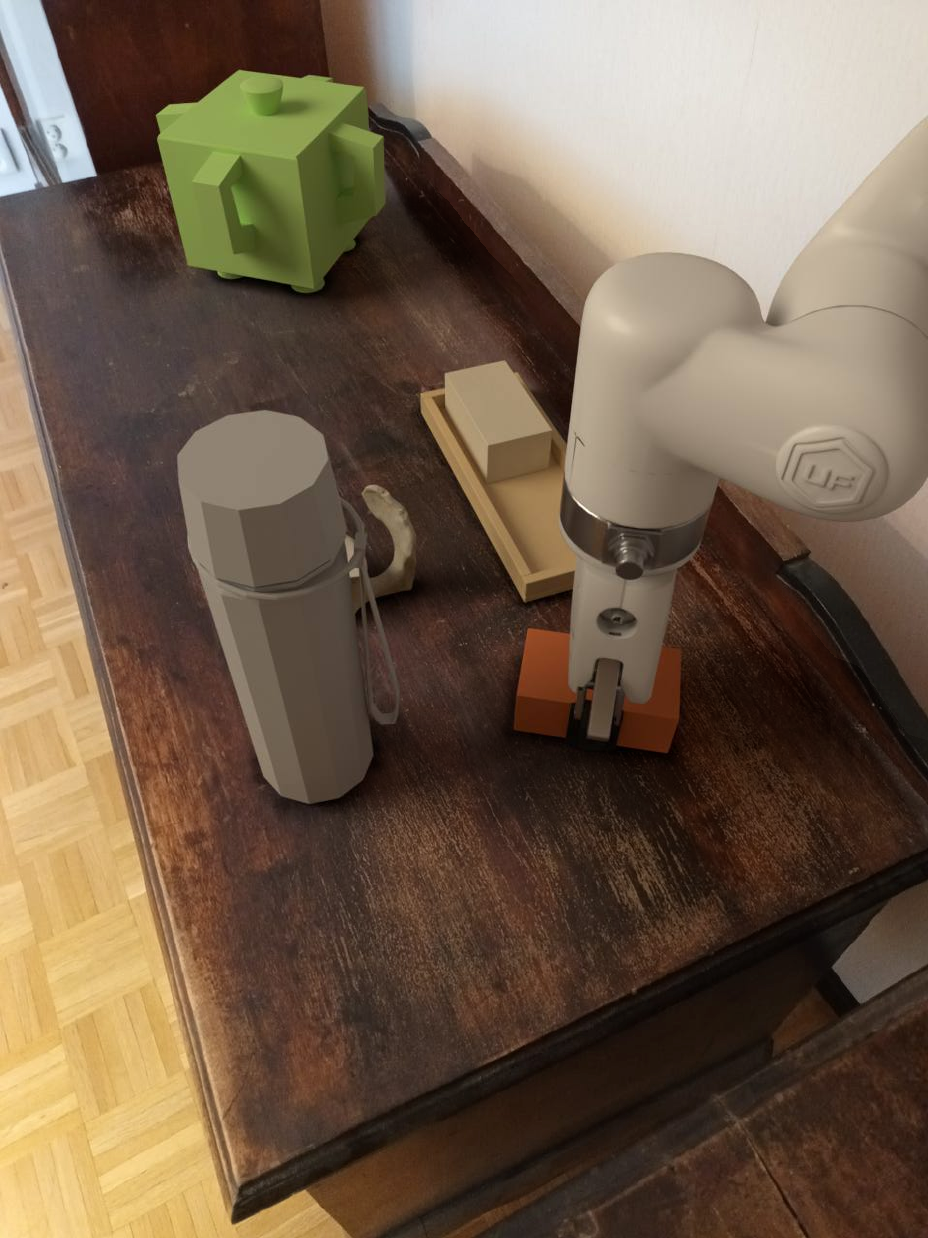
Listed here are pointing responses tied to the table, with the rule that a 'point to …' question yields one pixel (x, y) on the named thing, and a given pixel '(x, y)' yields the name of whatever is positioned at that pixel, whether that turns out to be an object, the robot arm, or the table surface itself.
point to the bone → (404, 542)
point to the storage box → (272, 176)
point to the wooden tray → (513, 507)
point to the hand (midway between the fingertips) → (594, 702)
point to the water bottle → (285, 597)
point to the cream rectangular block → (497, 421)
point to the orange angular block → (551, 697)
